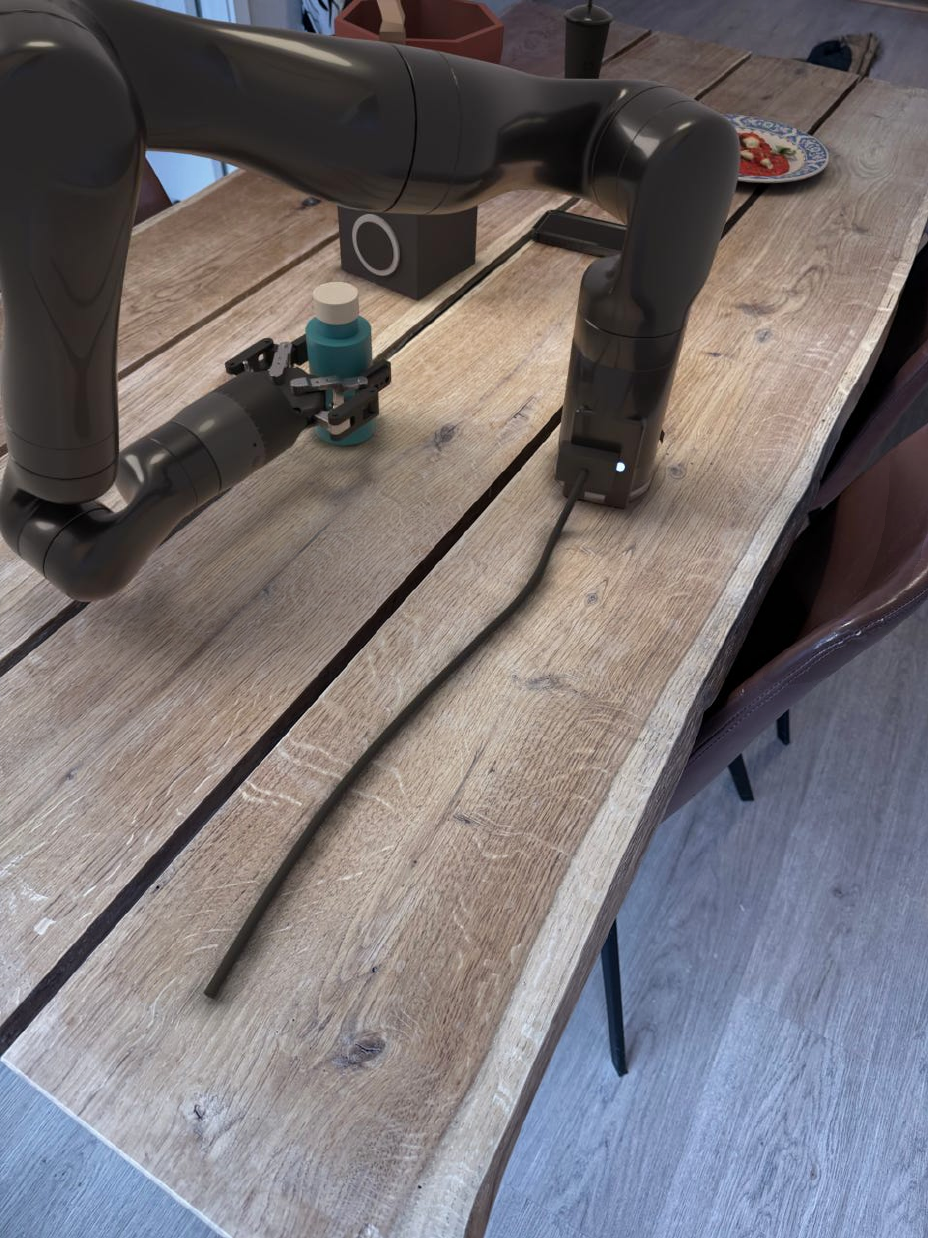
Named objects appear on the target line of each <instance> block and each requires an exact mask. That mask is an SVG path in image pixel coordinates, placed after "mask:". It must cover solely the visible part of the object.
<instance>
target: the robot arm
mask: <svg viewBox="0 0 928 1238" xmlns="http://www.w3.org/2000/svg"><path fill="white" fill-rule="evenodd" d="M722 114H723V113H721V112H719V111H716V110H714V109H713V108H711V107H710V106H707V105H705V104H704V103H702V102H700V101H698V100H696V99H694V98H692V97H690V96H689V95H686V94H685V93H682V92H681V91H679V90H677V89H676V88H674V87H672V86H669V85H668V84H665V83H661V82H658V81H654V80H650V79H641V78H640V79H639V78H599V79H564V78H557V77H547V76H540V75H537V74H532V73H527V72H525V71H520V70H517V69H514V68H512V67H508V66H505V65H501V64H499V65H497V64H493V63H489V62H485V61H480V60H476V59H471V58H467V57H462V56H458V55H453V54H449V53H445V52H440V51H435V50H430V49H424V48H417V47H411V46H405V45H399V44H393V43H386V42H380V41H371V40H360V39H351V38H342V37H336V36H335V35H329V34H324V33H323V34H322V33H316V32H311V31H303V30H297V29H288V28H281V27H275V26H274V27H273V26H265V25H258V24H257V25H256V24H247V23H239V22H230V21H222V20H216V19H212V18H211V19H210V18H205V17H200V16H196V15H191V14H187V13H182V12H178V11H175V10H170V9H166V8H163V7H159V6H156V5H151V4H148V3H145V2H141V1H138V0H0V296H1V304H2V305H1V306H2V316H3V317H2V319H3V320H2V322H3V323H2V340H1V347H0V402H1V411H2V419H3V427H4V434H5V441H6V448H7V454H8V458H7V462H6V464H5V465H6V466H5V467H4V472H3V476H2V480H1V485H0V535H1V537H2V539H3V541H4V542H5V544H6V545H7V546H8V548H9V549H10V550H11V551H12V552H13V553H14V554H15V555H16V556H18V557H19V558H20V559H21V560H23V561H24V562H25V563H26V564H27V565H29V566H30V567H31V568H32V569H34V570H35V571H36V572H37V573H38V574H40V576H42V577H43V578H44V579H45V580H47V581H48V582H49V583H50V584H51V585H52V586H53V587H55V588H56V589H57V590H58V591H60V592H61V593H62V594H64V595H65V596H66V597H68V598H70V599H72V600H74V601H77V602H83V603H90V602H98V601H101V600H106V599H107V598H110V597H113V596H115V595H117V594H118V593H120V592H121V591H123V590H124V589H125V588H126V587H127V586H128V585H129V584H130V583H131V582H132V581H133V579H134V578H135V577H136V576H137V575H138V573H139V572H140V571H141V569H142V568H143V567H144V565H146V563H147V561H148V560H149V559H150V557H151V556H152V555H153V553H154V552H155V551H156V549H157V548H158V547H159V546H160V545H161V544H162V543H163V541H165V539H166V538H167V537H168V535H169V534H170V533H172V531H173V530H174V529H175V528H176V526H177V525H178V524H179V523H180V522H181V521H182V520H183V519H184V518H185V517H188V515H190V514H192V513H193V512H195V511H196V510H197V509H199V508H200V507H202V506H203V505H204V504H206V503H207V502H209V501H211V500H212V499H213V498H215V497H216V496H218V495H220V494H221V493H222V492H225V491H227V490H229V489H231V488H233V487H235V486H237V485H239V484H240V483H242V482H243V481H245V480H247V478H249V477H250V476H252V475H253V474H254V473H256V472H258V471H259V470H260V469H261V468H263V467H265V466H266V465H268V464H269V463H270V462H271V461H273V460H275V459H276V458H278V457H279V456H280V455H282V454H283V453H284V452H286V451H288V450H289V449H291V447H293V446H294V444H295V443H296V441H297V440H298V438H299V436H300V435H301V434H302V432H303V431H305V430H307V429H311V428H315V426H317V425H319V426H321V427H323V428H325V429H326V430H328V431H329V436H330V440H332V441H335V442H337V441H341V440H342V439H344V438H345V437H347V436H348V435H350V434H351V433H353V432H354V431H356V430H357V429H359V428H360V427H362V426H363V425H365V424H366V423H368V422H369V421H371V420H372V419H373V418H375V419H376V417H378V416H379V415H380V399H379V396H380V395H379V393H380V392H381V391H383V390H384V389H386V388H387V387H388V386H390V385H391V383H392V362H391V361H389V360H387V359H384V358H382V359H380V360H379V361H377V362H376V363H374V364H373V366H371V367H370V368H368V369H367V370H365V371H364V372H362V373H361V374H360V375H359V377H353V378H346V379H341V378H340V377H339V376H337V375H334V376H327V377H318V376H315V375H311V374H310V373H308V372H307V371H305V370H304V369H303V368H301V366H303V365H304V364H305V363H308V362H309V361H308V352H307V342H306V332H304V334H302V335H301V336H299V337H297V338H295V339H294V340H292V341H281V342H280V343H274V339H272V338H271V337H264V338H261V339H260V340H258V341H256V342H255V343H254V344H252V345H250V346H249V347H246V348H245V349H244V350H242V351H241V352H239V353H238V354H236V355H234V356H233V357H231V358H230V359H228V360H227V361H225V362H224V368H225V376H226V382H224V383H222V384H221V385H219V386H218V387H215V388H214V389H212V390H211V391H209V392H207V393H206V394H204V395H203V396H201V397H199V398H198V399H195V400H194V401H193V402H190V403H189V404H188V405H186V406H185V407H183V408H182V409H180V410H179V411H178V412H177V413H176V414H175V415H173V416H172V417H171V418H170V419H169V420H167V421H165V423H163V424H161V425H159V426H158V427H156V428H154V429H153V430H151V431H149V432H148V433H146V434H145V435H143V436H140V437H139V438H138V439H136V440H135V441H133V442H131V443H130V444H128V445H127V446H125V447H124V448H123V449H121V450H120V405H119V403H120V402H119V401H120V399H119V357H118V356H119V329H120V328H119V327H120V317H121V316H120V315H121V307H122V306H121V305H122V298H123V297H122V296H123V289H124V281H125V274H126V267H127V262H128V261H127V259H128V255H129V251H130V250H129V249H130V244H131V238H132V234H133V229H134V224H135V219H136V215H137V210H138V205H139V198H140V195H141V194H140V193H141V188H142V183H143V182H142V181H143V175H144V171H145V170H144V169H145V162H146V154H147V152H161V153H172V154H173V153H174V154H181V155H182V154H183V155H190V156H191V155H192V156H196V157H200V158H205V159H210V160H213V161H217V162H220V163H224V164H227V165H230V166H233V167H235V168H237V169H240V170H243V171H245V172H248V173H250V174H252V175H255V176H258V177H259V178H262V179H265V180H267V181H270V182H272V183H274V184H277V185H280V186H282V187H285V188H286V189H287V188H288V189H290V190H292V191H295V192H297V193H300V194H304V195H306V196H308V197H311V198H314V199H316V200H319V201H322V202H325V203H328V204H330V205H334V206H336V207H337V206H341V207H345V208H349V209H354V210H361V211H369V212H379V213H397V214H415V215H443V214H451V213H457V212H460V211H464V210H467V209H470V208H473V207H475V206H477V205H478V206H480V205H482V204H484V203H486V202H488V201H490V200H492V199H495V198H496V197H498V196H501V195H503V194H506V193H508V192H514V191H524V190H526V191H537V192H546V193H552V194H559V195H564V196H568V197H572V198H577V199H580V200H583V201H586V202H588V203H591V204H593V205H594V206H597V207H599V208H600V209H602V210H603V211H605V212H606V213H608V214H609V215H611V216H612V217H613V218H615V219H616V220H618V221H619V222H620V223H621V224H622V225H626V226H627V228H626V234H625V239H624V243H623V247H622V251H621V253H617V254H612V255H608V256H605V257H602V256H601V257H600V258H598V259H596V260H594V261H593V262H591V263H590V264H589V265H588V266H587V267H586V268H585V270H584V272H583V274H582V276H581V280H580V284H579V290H578V291H579V292H578V298H577V299H578V300H577V307H576V315H575V321H574V329H573V335H572V340H571V347H570V354H569V362H568V369H567V374H566V375H567V376H566V383H565V390H564V398H563V405H562V411H561V418H560V424H559V425H560V426H559V431H558V432H559V433H558V440H557V441H558V442H557V447H556V453H555V455H554V463H553V473H554V481H557V482H558V483H559V485H560V486H561V487H562V489H561V495H562V496H563V497H568V498H567V500H566V502H565V504H564V506H563V509H562V511H561V512H560V515H559V517H558V519H557V520H556V523H555V525H554V527H553V529H552V531H551V534H550V535H549V538H548V539H547V542H546V545H545V547H544V550H543V552H542V553H541V554H542V555H541V557H540V559H539V561H538V564H537V566H536V567H535V570H534V572H533V573H532V575H531V577H530V578H529V580H528V581H527V583H526V584H525V586H524V587H523V588H522V589H521V591H520V592H519V593H518V595H517V596H516V597H514V599H513V600H512V601H511V603H509V604H508V606H507V607H505V608H504V609H503V611H502V612H500V614H498V615H497V617H495V618H494V619H493V620H492V621H491V622H490V623H489V624H488V625H487V626H486V627H485V628H484V629H483V630H481V632H480V633H478V634H477V635H476V636H475V637H474V639H473V640H471V641H470V642H469V644H467V645H466V647H464V649H462V650H461V651H460V652H459V653H458V654H457V655H456V656H455V657H454V658H453V659H452V660H451V661H450V662H449V663H448V664H447V665H446V666H445V667H444V668H443V669H442V670H441V671H440V672H439V673H438V674H436V675H435V677H434V678H433V679H431V681H430V682H429V683H427V685H426V686H425V687H424V688H423V689H422V690H421V691H420V692H419V693H418V694H417V695H416V696H415V697H413V699H412V700H411V701H410V702H409V703H408V704H407V705H406V706H405V708H404V709H403V710H402V711H401V712H400V713H399V714H398V715H397V716H396V717H395V718H394V719H393V720H392V721H391V722H390V723H389V725H387V727H385V729H384V730H383V731H382V732H381V733H380V734H379V735H378V737H377V738H376V739H375V740H374V741H373V742H372V743H371V744H370V746H369V747H368V748H367V749H366V750H365V751H364V752H363V753H362V755H361V756H360V758H358V760H357V761H356V762H355V763H354V765H353V766H352V767H351V768H350V769H349V770H348V771H347V773H346V774H345V775H344V777H343V778H342V779H341V780H340V781H339V783H338V784H337V786H335V788H334V789H333V791H332V792H331V793H330V794H329V796H328V797H327V799H325V801H324V802H323V804H322V805H321V807H320V808H319V809H318V810H317V812H316V813H315V815H314V816H313V817H312V819H311V820H310V822H309V823H308V824H307V825H306V827H305V829H304V830H303V831H302V833H301V835H300V836H299V837H298V838H297V840H296V842H295V843H294V845H293V846H292V848H291V849H290V851H289V852H288V854H287V855H286V857H285V858H284V860H282V862H281V864H280V866H279V867H278V869H277V870H276V871H275V873H274V875H273V876H272V878H271V879H270V881H269V882H268V884H267V886H266V887H265V889H264V890H263V892H262V893H261V895H260V897H259V898H258V900H257V901H256V903H255V905H254V906H253V908H252V910H251V911H250V913H249V914H248V916H247V918H246V919H245V921H244V923H243V925H242V926H241V928H240V930H239V931H238V933H237V935H236V937H235V938H234V940H233V941H232V943H231V945H230V947H229V949H228V950H227V952H226V954H225V955H224V957H223V959H222V960H221V962H220V964H219V966H218V967H217V969H216V970H215V972H214V974H213V975H212V977H211V979H210V980H209V982H208V984H207V985H206V987H205V989H204V991H203V995H204V996H206V997H207V998H209V999H211V1000H215V999H216V998H217V996H218V994H219V993H220V990H221V989H222V988H223V985H224V984H225V982H226V980H227V978H228V977H229V975H230V974H231V971H232V970H233V968H234V966H235V965H236V963H237V961H238V959H239V958H240V956H241V954H242V952H243V951H244V950H245V947H246V946H247V944H248V942H249V941H250V939H251V937H252V935H253V934H254V932H255V930H256V928H257V927H258V925H259V923H260V921H261V920H262V918H263V916H264V915H265V913H266V912H267V910H268V909H269V907H270V905H271V903H272V902H273V900H274V898H275V897H276V895H277V894H278V892H279V891H280V889H281V888H282V886H283V884H284V882H285V881H286V879H288V876H289V875H290V873H291V872H292V870H293V869H294V867H295V865H296V864H297V862H298V861H299V859H300V858H301V856H302V855H303V854H304V852H305V850H306V849H307V848H308V847H309V846H308V845H310V844H311V842H312V840H313V839H314V837H315V836H316V835H317V832H318V831H319V830H320V829H321V827H322V825H323V824H324V823H325V821H326V820H327V819H328V817H329V816H330V814H331V813H332V812H333V810H334V809H335V808H336V806H337V805H338V804H339V802H340V801H341V800H342V798H343V797H344V796H345V794H346V793H347V792H348V791H349V789H350V788H351V787H352V785H353V784H354V783H355V781H356V780H357V779H358V778H359V777H360V775H361V774H362V773H363V771H364V770H365V769H366V768H367V767H368V765H370V763H371V762H372V760H374V758H375V757H376V756H377V755H378V754H379V753H380V752H381V750H382V749H383V748H384V747H385V746H386V744H388V742H389V741H390V740H391V739H392V738H393V737H394V736H395V735H396V734H397V732H398V731H399V730H400V729H401V728H402V727H403V726H404V725H405V724H406V723H407V722H408V720H409V719H410V718H411V717H413V715H414V714H415V712H417V711H418V710H419V709H420V708H421V706H422V705H423V704H424V703H425V702H426V701H427V700H428V699H429V698H430V697H432V695H433V694H434V693H435V692H436V691H437V690H438V689H439V688H440V687H441V686H442V685H443V684H444V683H445V682H446V681H447V680H448V679H449V678H450V677H451V676H452V675H453V674H454V673H455V672H456V671H457V670H458V669H459V668H460V667H462V665H463V664H464V663H465V662H466V661H468V659H470V657H471V656H472V655H473V654H474V653H475V652H476V651H477V650H478V649H479V648H481V646H483V644H484V643H485V642H486V641H487V640H488V639H489V638H490V637H491V636H492V635H494V633H495V632H497V630H499V629H500V628H501V626H503V625H504V624H505V623H506V622H507V621H508V620H509V619H510V618H511V617H512V616H513V615H514V614H515V613H516V612H517V611H518V610H519V608H521V606H522V605H523V604H524V603H525V601H527V599H528V598H529V597H530V596H531V594H532V592H533V591H534V589H535V588H536V587H537V585H538V584H539V582H540V580H541V579H542V577H543V575H544V574H545V571H546V570H547V567H548V565H549V561H550V559H551V557H552V553H553V551H554V549H555V547H556V544H557V543H558V540H559V538H560V536H561V533H562V532H563V530H564V528H565V525H566V524H567V521H568V520H569V518H570V515H571V514H572V511H573V509H574V507H575V505H576V503H577V501H578V500H582V501H587V502H592V503H597V504H602V505H606V506H611V507H616V508H621V509H627V507H628V504H629V503H630V501H633V500H635V499H637V498H639V497H641V496H642V495H643V494H645V492H646V491H647V490H648V489H649V487H650V485H651V482H652V478H653V473H654V466H655V465H654V464H655V461H656V456H657V452H658V447H659V443H660V444H663V442H664V438H665V435H666V433H665V431H664V429H663V427H664V423H665V418H666V415H667V410H668V406H669V403H670V398H671V394H672V390H673V385H674V381H675V377H676V373H677V369H678V366H679V361H680V356H681V353H682V349H683V345H684V341H685V336H686V333H687V328H688V325H689V320H690V316H691V313H692V309H693V305H694V303H695V302H696V300H697V299H698V297H699V295H700V294H701V292H702V290H703V289H704V287H705V285H706V283H707V281H708V279H709V276H710V274H711V271H712V268H713V266H714V263H715V258H716V256H717V252H718V248H719V245H720V242H721V238H722V235H723V232H724V229H725V226H726V223H727V219H728V216H729V212H730V209H731V207H732V203H733V200H734V196H735V193H736V189H737V184H738V181H737V180H738V176H739V169H740V157H741V149H740V141H739V137H738V133H737V131H736V129H735V127H734V125H733V124H732V123H731V122H730V121H729V120H728V119H727V118H726V117H725V116H723V115H722ZM261 355H262V358H261V359H260V357H261ZM295 365H296V366H295ZM326 389H333V402H332V403H330V404H326ZM354 389H355V396H350V397H344V396H343V393H344V392H345V391H347V390H354ZM363 407H364V409H363ZM113 485H114V486H115V488H116V489H117V491H118V493H119V494H120V496H121V498H122V499H123V501H124V502H125V504H126V506H125V507H123V508H122V509H120V510H119V511H113V510H112V508H110V507H109V506H108V505H106V504H105V503H104V502H102V501H101V500H100V498H102V496H104V495H105V494H106V493H107V492H109V491H110V489H112V487H113Z"/></svg>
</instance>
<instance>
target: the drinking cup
mask: <svg viewBox="0 0 928 1238" xmlns="http://www.w3.org/2000/svg"><path fill="white" fill-rule="evenodd" d="M593 2H594V0H587V4H580V5H576V6H575V7H572V8H570V9H567V10H565V12H564V13H563V14H564V20H565V35H564V36H565V37H564V39H565V40H564V41H565V42H564V75H563V76H564V77H563V79H600V74H601V69H602V65H603V60H604V54H605V50H606V45H607V41H608V36H609V32H610V28H611V27H610V26H611V23H612V22H613V19H614V16H613V14H612V13H610V12H608V11H607V10H606V9H604V8H603V7H600V6H598V5H595V4H593Z"/></svg>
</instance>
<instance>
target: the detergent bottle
mask: <svg viewBox="0 0 928 1238" xmlns="http://www.w3.org/2000/svg"><path fill="white" fill-rule="evenodd" d="M359 297H360V295H359V291H358V289H357V288H356V286H354V285H352V284H350V283H348V282H344V281H330V282H325V283H322V284H319V285H318V286H316V287H315V288H314V290H313V292H312V299H313V310H314V317H313V318H312V319H310V320H309V321H308V322H307V324H306V325H305V329H304V330H305V332H304V333H306V342H307V352H308V361H307V362H308V370H309V374H311V375H315V376H318V377H327V376H334V375H337V376H339V377H340V378H341V379H346V378H353V377H359V375H360V374H361V373H362V372H364V371H365V370H367V369H368V368H370V367H371V366H373V365H374V364H373V362H374V361H373V337H372V335H373V334H372V326H371V323H370V322H369V321H368V320H367V319H366V318H365V317H363V316H361V315H360V299H359ZM343 396H344V397H350V396H355V389H354V390H347V391H345V392H344V393H343ZM332 402H333V389H326V404H330V403H332ZM363 409H364V407H363ZM314 428H315V432H316V435H317V436H318V437H319V438H320V440H322V441H324V442H325V443H328V444H330V445H335V446H341V447H342V446H343V447H344V446H345V447H346V446H356V445H359V444H361V443H364V442H365V441H368V440H369V439H370V438H371V437H372V436H373V435H374V434H375V431H376V417H375V418H373V419H372V420H371V421H369V422H368V423H366V424H365V425H363V426H362V427H360V428H359V429H357V430H356V431H354V432H353V433H351V434H350V435H348V436H347V437H345V438H344V439H342V440H341V441H337V442H335V441H332V440H330V436H329V431H328V430H326V429H325V428H323V427H321V426H319V425H317V426H315V427H314Z"/></svg>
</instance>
